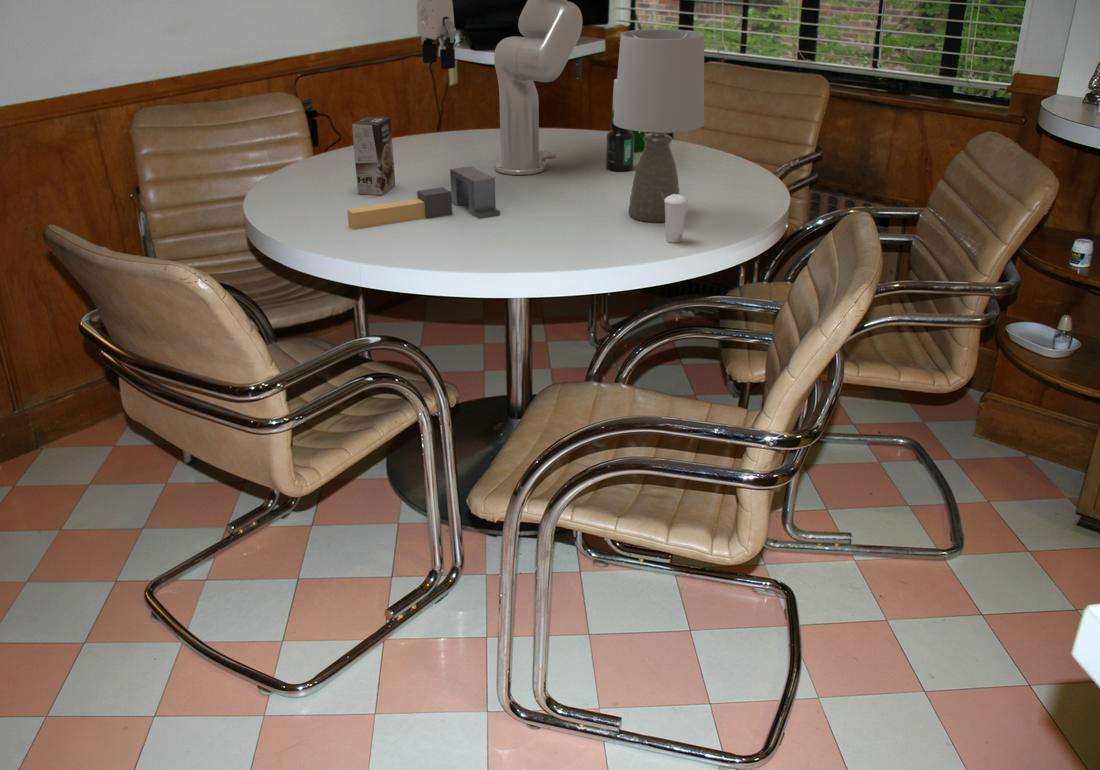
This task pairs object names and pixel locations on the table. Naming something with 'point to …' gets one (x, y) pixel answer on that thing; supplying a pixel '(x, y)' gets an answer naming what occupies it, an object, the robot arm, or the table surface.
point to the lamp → (658, 107)
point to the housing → (474, 191)
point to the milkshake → (674, 217)
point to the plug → (403, 209)
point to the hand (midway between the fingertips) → (438, 65)
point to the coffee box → (373, 155)
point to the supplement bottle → (619, 149)
